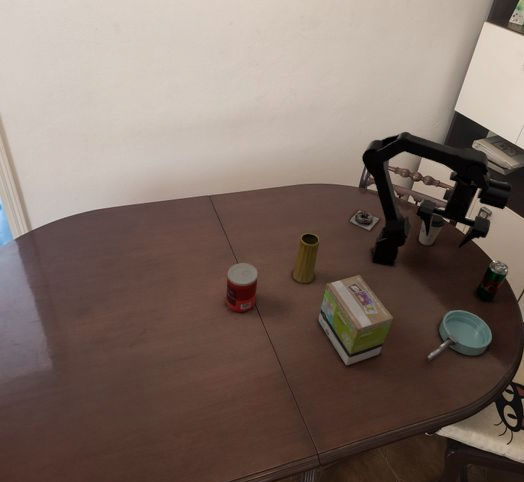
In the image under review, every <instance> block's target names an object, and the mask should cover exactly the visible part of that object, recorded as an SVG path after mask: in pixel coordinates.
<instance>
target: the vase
mask: <svg viewBox="0 0 524 482" xmlns="http://www.w3.org/2000/svg"><path fill="white" fill-rule="evenodd" d="M319 245H320V238H319V236H318V235H316V234H315V233H311V232H307V233H302V234H301V235H300V239H299V245H298V248H297V254H296V261H295V266H294V270H293V272H292V277H293V279H294V280H295V281H296V282H298V283H301V284H308V283H311V282H312V281H313V280H314V278H315V277H314V273H315V267H316V260H317V256H318V255H317V254H318V250H319Z"/></svg>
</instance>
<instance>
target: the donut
mask: <svg viewBox="0 0 524 482" xmlns="http://www.w3.org/2000/svg"><path fill="white" fill-rule="evenodd" d="M379 220H380V218H379V217H377V216H374V215H372V214H371V213H370V212H366V211H362V210H360V209H359V210H358V211H357V212H356V213H354V215H352V217H351V219H350V221H349V223H352V224H353V225H356V226H358V227H360V228H362V229H365V230H367V231H371V230H372V228H373V227H374V226H375V225H376V224H377V223H378V221H379Z"/></svg>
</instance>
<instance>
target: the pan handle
mask: <svg viewBox="0 0 524 482" xmlns="http://www.w3.org/2000/svg"><path fill="white" fill-rule="evenodd" d="M457 342H458V340H457V339H456V338H455V337H453V336H452V335H451V334H450V335H449V336H448V337H447V339H446V341H443V342H442V343H441V344H440V345H439V346H437V347H436V348H434V349H433V350H432V351H430V352H429V353H428V354H427V355H426V356H425V359H426V361H428V362H429V361H433V360H434V359H435V358H436V357H437V356H438V355H440V354H441V353H443V352H444V351H445V350H446V349H448V348H450V345H452V346H455V345H456V344H457Z"/></svg>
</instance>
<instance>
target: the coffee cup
mask: <svg viewBox="0 0 524 482" xmlns="http://www.w3.org/2000/svg"><path fill="white" fill-rule="evenodd" d="M445 225H446V222H445V218H442V217H439V216H436V215H433V219H432V223H431V228H430V231H429V234H428V236H426V229H425V224H424V221H423V220H422V222H421V225H420V226H421V227H420V231H419V237H418V241H419V243H420V244H421V245H424V246H431V245H433V244H434V242H435V241H436V238H437V237H438V235H439V234H440V231H442V229H443V227H444V226H445Z"/></svg>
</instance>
